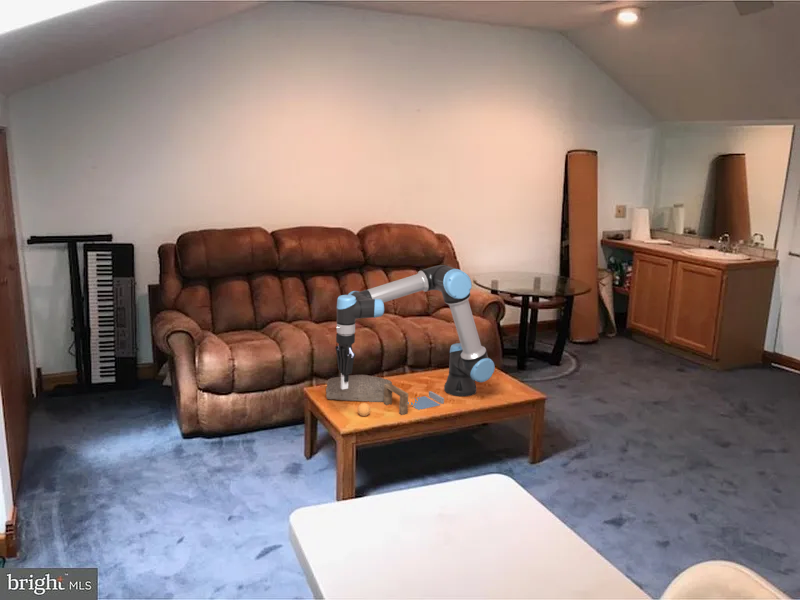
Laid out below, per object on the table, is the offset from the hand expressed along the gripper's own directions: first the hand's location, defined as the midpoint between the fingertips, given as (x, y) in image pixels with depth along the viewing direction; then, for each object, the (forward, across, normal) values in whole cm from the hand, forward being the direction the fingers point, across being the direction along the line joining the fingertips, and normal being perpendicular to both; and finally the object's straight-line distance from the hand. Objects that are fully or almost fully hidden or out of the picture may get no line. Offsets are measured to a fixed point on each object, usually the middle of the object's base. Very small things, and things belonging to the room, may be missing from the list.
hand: (344, 388), depth 280 cm
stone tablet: (+15, -23, +20) cm, 34 cm away
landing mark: (+14, 0, +40) cm, 42 cm away
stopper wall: (+14, 0, +48) cm, 50 cm away
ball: (+11, 0, +10) cm, 15 cm away
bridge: (+14, 0, +26) cm, 29 cm away
